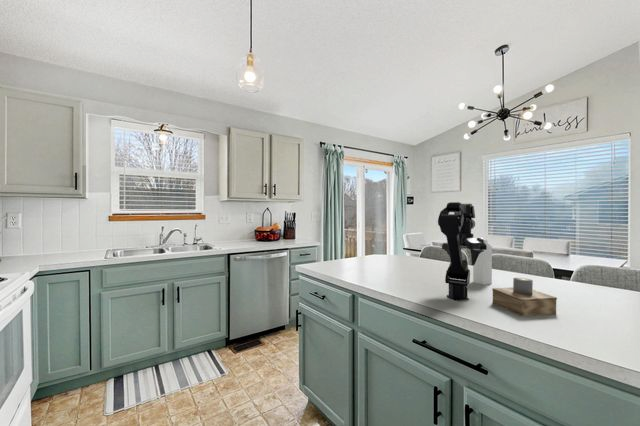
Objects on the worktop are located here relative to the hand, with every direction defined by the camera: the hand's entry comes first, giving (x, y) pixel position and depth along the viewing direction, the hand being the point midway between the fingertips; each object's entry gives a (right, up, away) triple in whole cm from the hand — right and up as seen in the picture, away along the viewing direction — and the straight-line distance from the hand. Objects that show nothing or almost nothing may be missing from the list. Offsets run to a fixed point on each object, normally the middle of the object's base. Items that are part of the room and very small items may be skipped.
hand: (464, 265), depth 134 cm
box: (+11, -12, -22) cm, 28 cm away
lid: (+11, -7, -22) cm, 26 cm away
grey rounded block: (+11, -6, -23) cm, 26 cm away
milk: (+17, -12, +16) cm, 26 cm away
